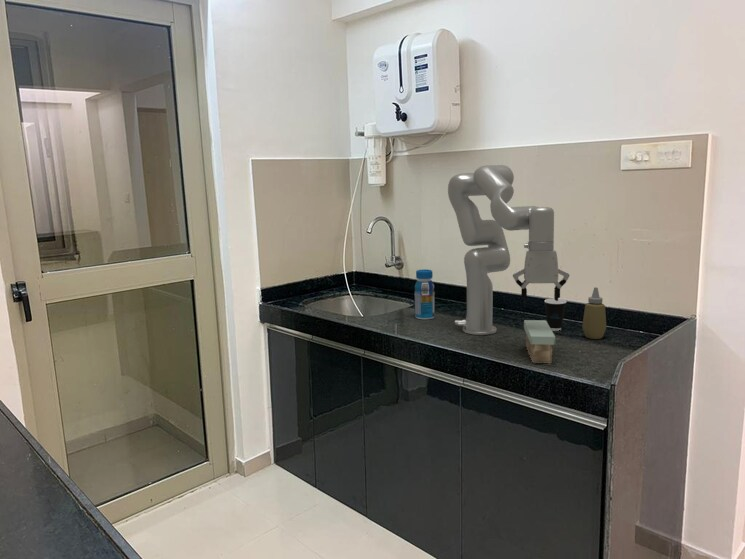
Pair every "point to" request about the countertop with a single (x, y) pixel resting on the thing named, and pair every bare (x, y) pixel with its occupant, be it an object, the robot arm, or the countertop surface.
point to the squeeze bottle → (594, 317)
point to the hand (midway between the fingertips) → (540, 300)
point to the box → (539, 352)
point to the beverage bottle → (424, 295)
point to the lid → (539, 332)
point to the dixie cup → (555, 313)
